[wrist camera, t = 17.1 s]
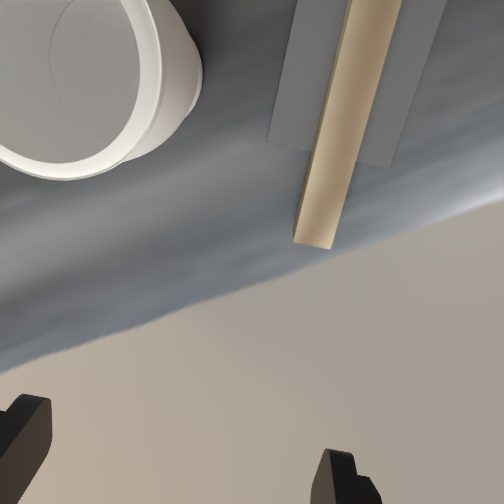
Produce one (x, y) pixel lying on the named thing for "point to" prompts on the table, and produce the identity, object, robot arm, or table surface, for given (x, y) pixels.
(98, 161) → the jar
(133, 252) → the table surface
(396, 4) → the beige block
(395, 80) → the mat
